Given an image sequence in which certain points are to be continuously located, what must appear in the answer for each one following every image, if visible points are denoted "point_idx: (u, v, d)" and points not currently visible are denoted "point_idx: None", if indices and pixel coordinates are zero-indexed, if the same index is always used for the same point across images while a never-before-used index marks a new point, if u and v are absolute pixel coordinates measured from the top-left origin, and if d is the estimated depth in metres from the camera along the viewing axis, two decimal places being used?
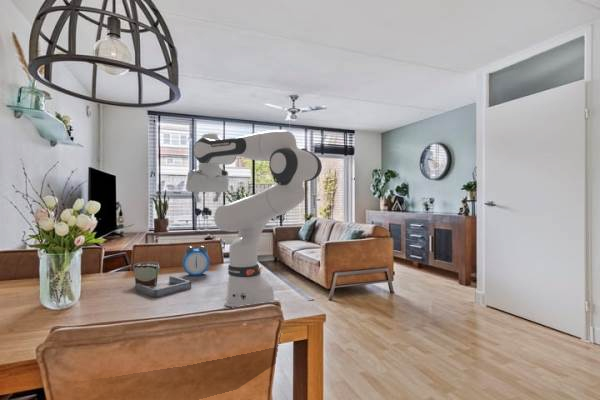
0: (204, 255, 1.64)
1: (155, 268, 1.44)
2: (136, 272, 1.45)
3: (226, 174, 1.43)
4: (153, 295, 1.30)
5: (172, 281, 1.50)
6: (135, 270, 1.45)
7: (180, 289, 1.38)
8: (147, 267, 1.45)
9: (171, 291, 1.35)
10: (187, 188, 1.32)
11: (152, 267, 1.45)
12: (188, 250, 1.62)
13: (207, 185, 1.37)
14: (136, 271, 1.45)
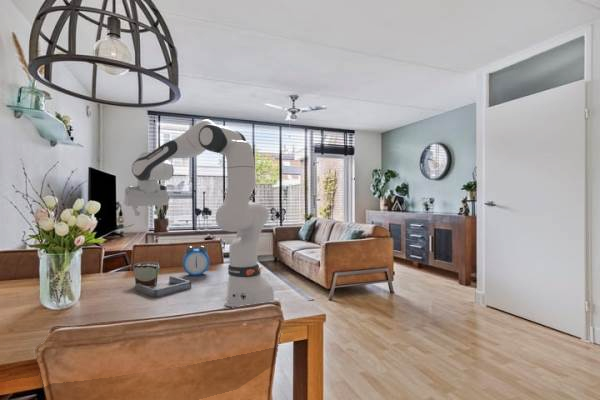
0: (204, 255, 1.64)
1: (155, 268, 1.44)
2: (136, 272, 1.45)
3: (165, 189, 1.57)
4: (153, 295, 1.30)
5: (172, 281, 1.50)
6: (135, 270, 1.45)
7: (180, 289, 1.38)
8: (147, 267, 1.45)
9: (171, 291, 1.35)
10: (125, 203, 1.45)
11: (152, 267, 1.45)
12: (188, 250, 1.62)
13: (145, 200, 1.50)
14: (136, 271, 1.45)
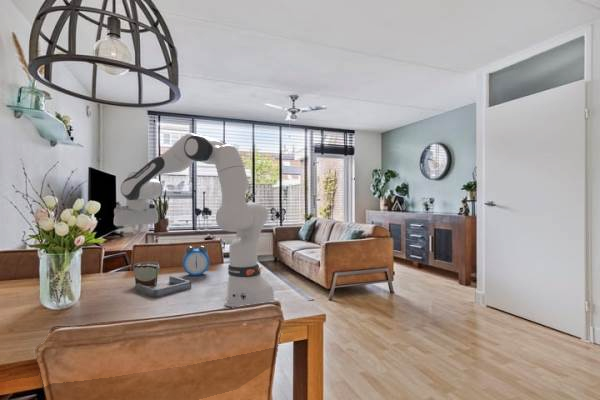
0: (204, 255, 1.64)
1: (155, 268, 1.44)
2: (136, 272, 1.45)
3: (154, 207, 1.58)
4: (153, 295, 1.30)
5: (172, 281, 1.50)
6: (135, 270, 1.45)
7: (180, 289, 1.38)
8: (147, 267, 1.45)
9: (171, 291, 1.35)
10: (114, 223, 1.46)
11: (152, 267, 1.45)
12: (188, 250, 1.62)
13: (134, 219, 1.51)
14: (136, 271, 1.45)
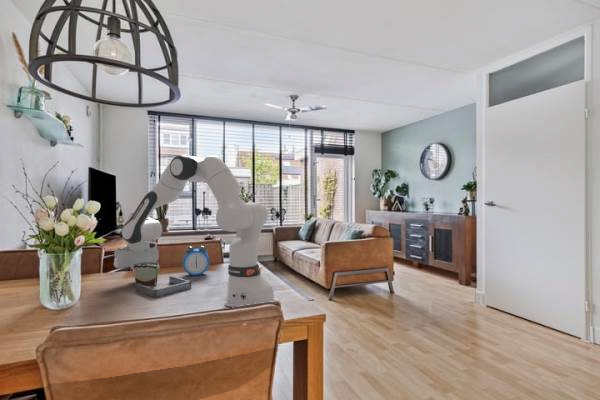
0: (204, 255, 1.64)
1: (155, 268, 1.44)
2: (136, 272, 1.45)
3: (154, 246, 1.58)
4: (153, 295, 1.30)
5: (172, 281, 1.50)
6: (135, 270, 1.45)
7: (180, 289, 1.38)
8: (147, 267, 1.45)
9: (171, 291, 1.35)
10: (114, 265, 1.46)
11: (152, 267, 1.45)
12: (188, 250, 1.62)
13: (135, 259, 1.52)
14: (136, 271, 1.45)
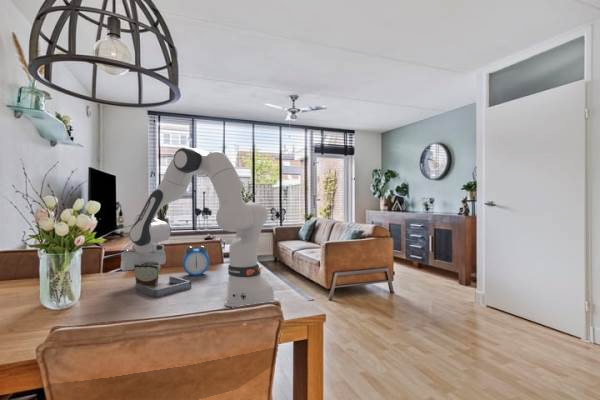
0: (204, 255, 1.64)
1: (156, 268, 1.44)
2: (137, 272, 1.45)
3: (162, 248, 1.54)
4: (153, 295, 1.30)
5: (172, 281, 1.50)
6: (136, 270, 1.45)
7: (180, 289, 1.38)
8: (148, 267, 1.44)
9: (171, 291, 1.35)
10: (121, 268, 1.43)
11: (153, 267, 1.44)
12: (188, 250, 1.62)
13: (142, 262, 1.48)
14: (137, 271, 1.45)
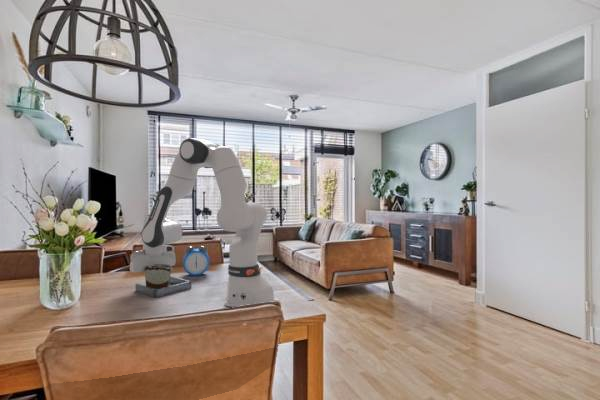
0: (204, 255, 1.64)
1: (169, 271, 1.40)
2: (147, 274, 1.39)
3: (172, 249, 1.49)
4: (153, 295, 1.30)
5: (172, 281, 1.50)
6: (146, 272, 1.39)
7: (180, 289, 1.38)
8: (160, 269, 1.40)
9: (171, 291, 1.35)
10: (130, 270, 1.37)
11: (165, 269, 1.40)
12: (188, 250, 1.62)
13: (151, 264, 1.43)
14: (147, 273, 1.39)
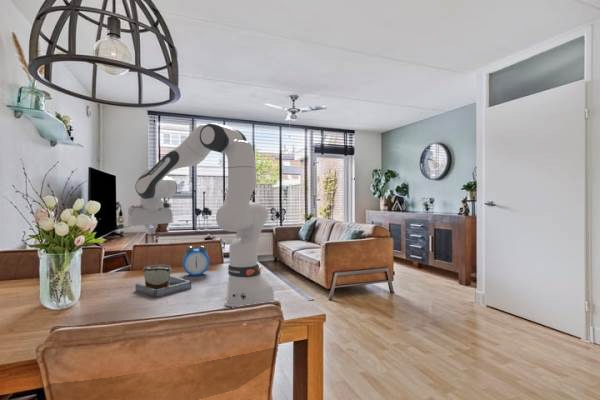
0: (204, 255, 1.64)
1: (168, 271, 1.40)
2: (147, 275, 1.39)
3: (169, 206, 1.53)
4: (153, 295, 1.30)
5: (172, 281, 1.50)
6: (145, 273, 1.39)
7: (180, 289, 1.38)
8: (159, 270, 1.40)
9: (171, 291, 1.35)
10: (129, 223, 1.41)
11: (164, 270, 1.40)
12: (188, 250, 1.62)
13: (149, 219, 1.46)
14: (146, 274, 1.39)
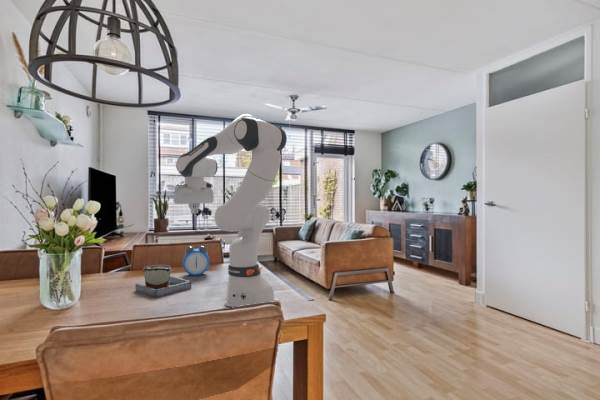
0: (204, 255, 1.64)
1: (168, 271, 1.40)
2: (147, 275, 1.39)
3: (210, 186, 1.56)
4: (153, 295, 1.30)
5: (172, 281, 1.50)
6: (145, 273, 1.39)
7: (180, 289, 1.38)
8: (159, 270, 1.40)
9: (171, 291, 1.35)
10: (175, 201, 1.45)
11: (164, 270, 1.40)
12: (188, 250, 1.62)
13: (193, 198, 1.50)
14: (146, 274, 1.39)
